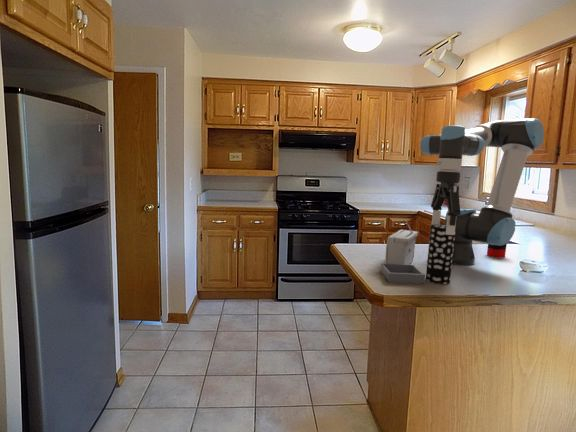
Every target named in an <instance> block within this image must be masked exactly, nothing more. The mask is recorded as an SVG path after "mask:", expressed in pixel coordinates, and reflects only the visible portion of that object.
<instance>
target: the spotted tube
mask: <svg viewBox="0 0 576 432" xmlns="http://www.w3.org/2000/svg"><path fill="white" fill-rule="evenodd" d="M446 226H447V225H445V224H440V225H432V224H431V225H430V230H429V231H430V232H429V240H428V241H429V242H428V249H427V251H428V253H427V259H426V271H425V272H426V273H425V280H426V281H427V282H430V283H432V284H435V285H436V284H437V285H449V284H450V283H451V275H452V269H453V268H452V267H453V264H452V259H453V250H454V241H455V234H454V235H446ZM455 231H456V227H455Z"/></svg>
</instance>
